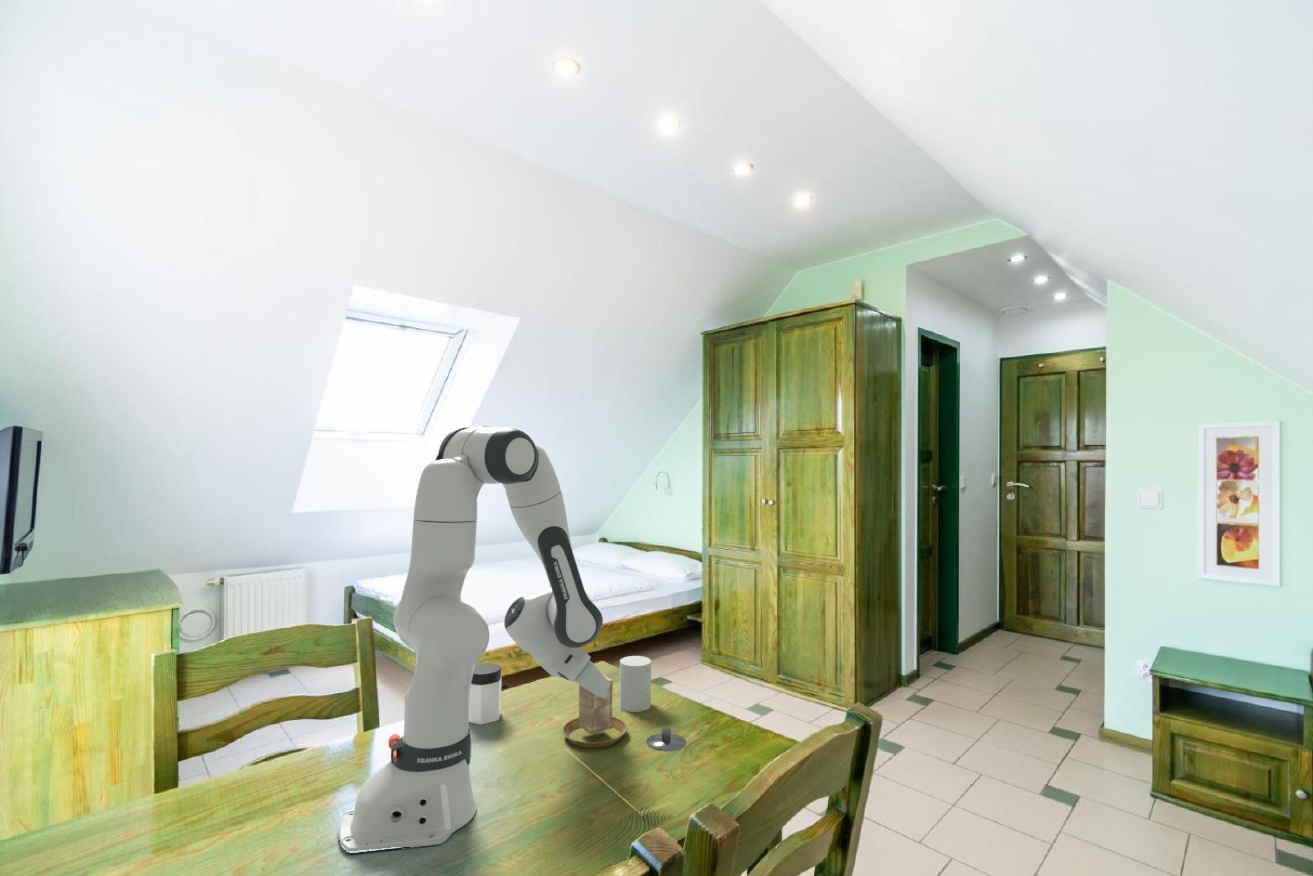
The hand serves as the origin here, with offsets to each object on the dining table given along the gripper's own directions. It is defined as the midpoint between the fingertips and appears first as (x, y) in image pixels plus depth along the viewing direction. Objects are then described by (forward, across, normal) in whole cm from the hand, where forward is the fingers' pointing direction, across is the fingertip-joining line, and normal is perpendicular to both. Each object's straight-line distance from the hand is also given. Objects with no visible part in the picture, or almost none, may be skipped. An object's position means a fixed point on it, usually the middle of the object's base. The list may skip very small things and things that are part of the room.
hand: (598, 690), depth 145 cm
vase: (+5, 0, -6) cm, 8 cm away
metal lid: (+16, +11, 0) cm, 19 cm away
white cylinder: (+19, -10, +4) cm, 22 cm away
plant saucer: (+8, 0, -8) cm, 11 cm away
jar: (-5, -25, -21) cm, 33 cm away
